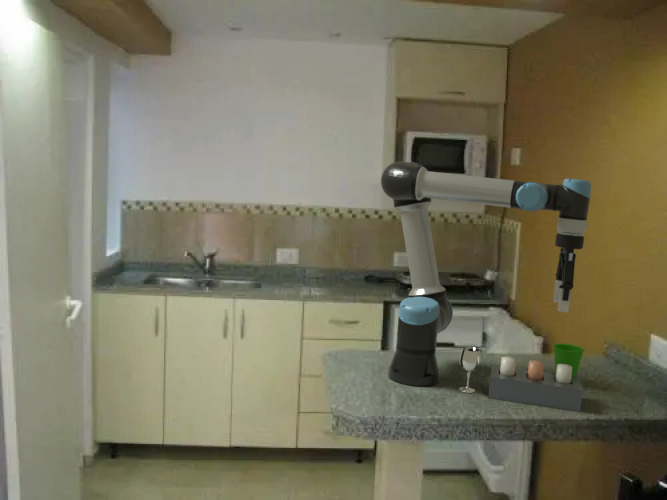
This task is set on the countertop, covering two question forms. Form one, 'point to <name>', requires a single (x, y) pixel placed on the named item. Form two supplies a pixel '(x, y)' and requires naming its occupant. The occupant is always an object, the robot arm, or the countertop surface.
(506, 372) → the white plug
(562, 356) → the cup
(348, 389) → the countertop surface
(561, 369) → the white plug
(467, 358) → the wineglass
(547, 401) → the grey socket block
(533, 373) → the plug terracotta
